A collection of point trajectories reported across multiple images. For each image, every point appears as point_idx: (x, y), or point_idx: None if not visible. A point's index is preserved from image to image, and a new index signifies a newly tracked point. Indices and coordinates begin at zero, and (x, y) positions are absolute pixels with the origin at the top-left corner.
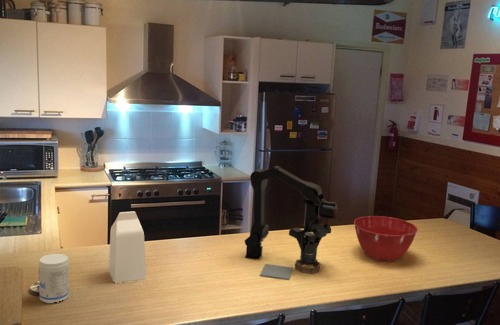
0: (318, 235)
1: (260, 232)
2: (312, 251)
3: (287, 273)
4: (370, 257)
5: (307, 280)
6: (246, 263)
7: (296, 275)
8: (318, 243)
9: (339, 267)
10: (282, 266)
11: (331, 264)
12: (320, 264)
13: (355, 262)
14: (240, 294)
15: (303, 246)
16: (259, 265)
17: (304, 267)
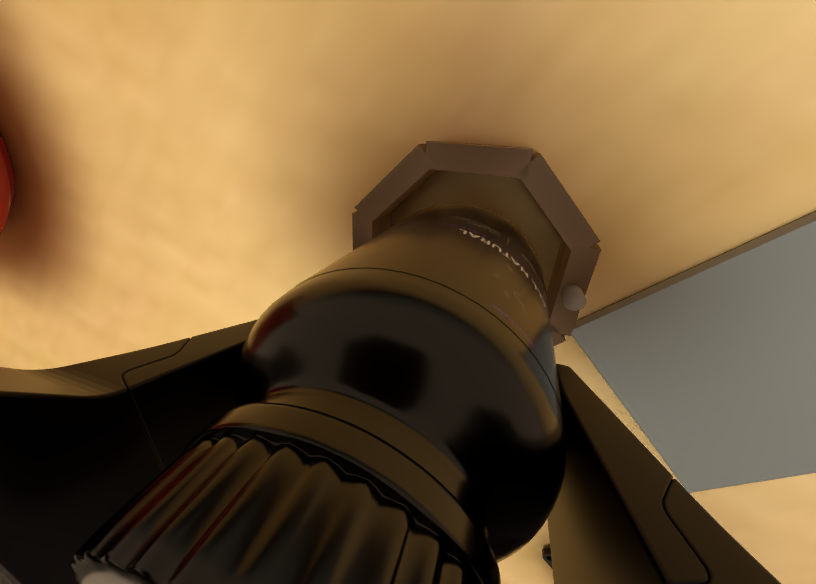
0: None
1: None
2: (468, 250)
3: (759, 279)
4: (6, 149)
5: (728, 33)
6: (770, 571)
7: (685, 213)
8: (229, 333)
9: (232, 133)
10: (627, 392)
11: (257, 209)
12: (368, 195)
13: (103, 141)
14: None
15: (611, 436)
16: (728, 505)
17: (578, 222)
